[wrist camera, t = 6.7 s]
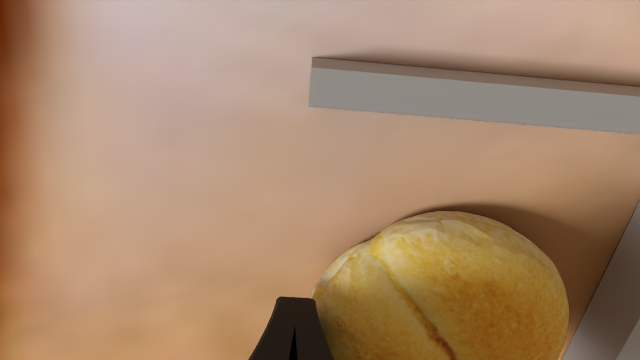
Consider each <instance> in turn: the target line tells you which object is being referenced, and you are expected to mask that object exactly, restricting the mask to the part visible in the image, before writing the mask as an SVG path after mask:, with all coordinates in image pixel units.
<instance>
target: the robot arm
mask: <svg viewBox="0 0 640 360" xmlns="http://www.w3.org/2000/svg"><path fill="white" fill-rule="evenodd" d="M249 360H335V359H334V357H333V355H332V352H331V350H330V347H329V345H328V342H327V340H326V337H325V335H324V332H323V329H322V326H321V323H320V319H319V316H318V312H317V307H316V301H315V300H314V299H313V298H295V297H279V298H278V299H277V300H276V304H275V307H274V310H273V313H272V315H271V318H270V320H269V322H268V325H267V327H266V329H265V331H264V333H263V335H262V337H261V339H260V341H259V342H258V344H257V346H256V348H255V350H254V351H253V353H252V355H251V356H250V358H249Z"/></svg>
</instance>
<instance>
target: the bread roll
mask: <svg viewBox="0 0 640 360" xmlns="http://www.w3.org/2000/svg"><path fill="white" fill-rule="evenodd" d="M311 298H313V299H314V300H315V301H316V307H317V312H318V316H319V319H320V323H321V326H322V329H323V332H324V335H325V337H326V340H327V342H328V345H329V347H330V350H331V352H332V355H333V357H334V359H335V360H557V359H558V357H559V355H560V352H561V350H562V348H563V345H564V342H565V338H566V333H567V329H568V323H569V303H568V298H567V294H566V290H565V286H564V283H563V281H562V279H561V276H560V274H559V272H558V270H557V268H556V267H555V265H554V263H553V262H552V261H551V260H550V258H549V257H548V256H547V255H546V254H545V253H544V252H542V251H541V250H540V249H539V248H538V247H537V246H536V245H535V244H534V243H533V242H532V241H530V240H529V239H527V238H526V237H524V236H523V235H522V234H520V233H518V232H516V231H515V230H513V229H512V228H510V227H509V226H507V225H505V224H503V223H500V222H498V221H496V220H494V219H491V218H487V217H484V216H480V215H475V214H471V213H466V212H459V211H436V212H429V213H424V214H420V215H416V216H412V217H409V218H406V219H402V220H400V221H398V222H396V223H393V224H391V225H389V226H388V227H386V228H385V229H384V230H383V231H381V232H380V233H379V234H378V235H376V236H375V237H374V238H372V239H371V240H369V241H366V242H363V243H360V244H358V245H356V246H353V247H351V248H350V249H348V250H347V251H346V252H345V253H343V254H342V255H341V256H339V257H338V258H337V259H336V260H335V261H334V262H333V263H332V264H331V265H330V266H329V267H328V268H327V269H326V271H325V272H324V273H323V275H322V277H321V278H320V280H319V281H318V283H317V284H316V286H315V287H314V289H313V292H312V295H311Z"/></svg>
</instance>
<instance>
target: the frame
mask: <svg viewBox="0 0 640 360" xmlns="http://www.w3.org/2000/svg"><path fill="white" fill-rule="evenodd" d="M309 107H320V108H332V109H343V110H355V111H367V112H379V113H391V114H403V115H415V116H427V117H439V118H451V119H463V120H474V121H486V122H498V123H510V124H522V125H534V126H546V127H558V128H570V129H582V130H593V131H605V132H617V133H629V134H640V87H636V86H625V85H614V84H603V83H592V82H581V81H570V80H559V79H548V78H537V77H526V76H515V75H503V74H492V73H481V72H470V71H459V70H448V69H437V68H426V67H415V66H404V65H393V64H382V63H371V62H360V61H349V60H338V59H326V58H315V57H312V68H311V81H310V96H309ZM562 360H640V201H639V204H638V206H637V208H636V210H635V212H634V214H633V216H632V218H631V220H630V222H629V224H628V226H627V228H626V230H625V232H624V234H623V236H622V238H621V240H620V242H619V244H618V246H617V248H616V250H615V253H614V255H613V257H612V259H611V261H610V263H609V265H608V267H607V269H606V271H605V273H604V275H603V277H602V279H601V281H600V283H599V285H598V287H597V289H596V291H595V293H594V295H593V297H592V299H591V302H590V304H589V306H588V308H587V310H586V312H585V314H584V316H583V318H582V320H581V322H580V324H579V326H578V328H577V330H576V332H575V334H574V336H573V338H572V340H571V342H570V344H569V346H568V349H567V351H566V353H565V355H564V357H563V359H562Z"/></svg>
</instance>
